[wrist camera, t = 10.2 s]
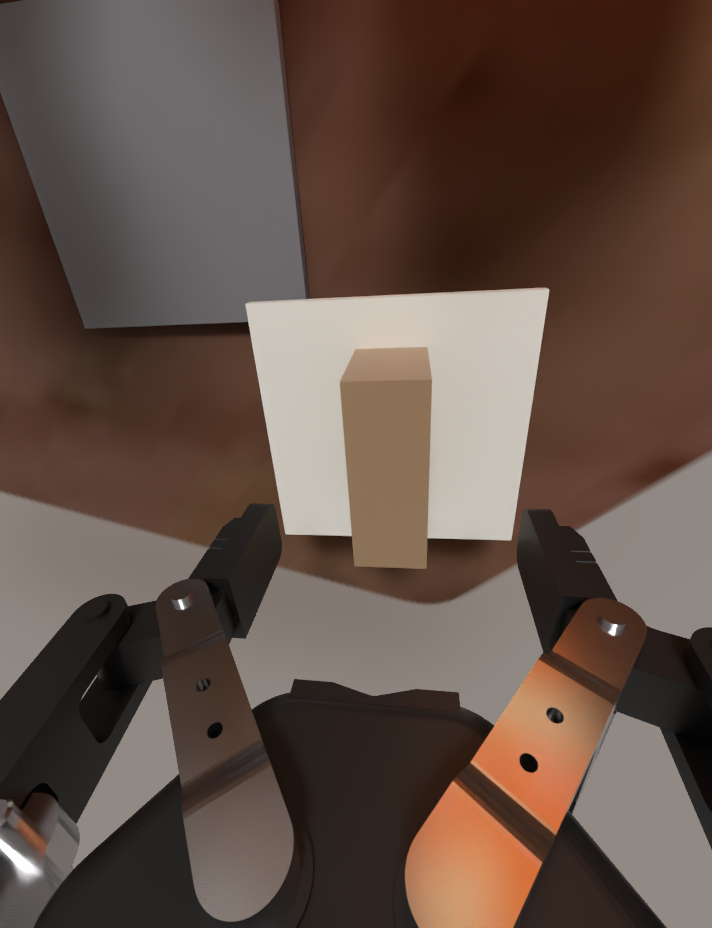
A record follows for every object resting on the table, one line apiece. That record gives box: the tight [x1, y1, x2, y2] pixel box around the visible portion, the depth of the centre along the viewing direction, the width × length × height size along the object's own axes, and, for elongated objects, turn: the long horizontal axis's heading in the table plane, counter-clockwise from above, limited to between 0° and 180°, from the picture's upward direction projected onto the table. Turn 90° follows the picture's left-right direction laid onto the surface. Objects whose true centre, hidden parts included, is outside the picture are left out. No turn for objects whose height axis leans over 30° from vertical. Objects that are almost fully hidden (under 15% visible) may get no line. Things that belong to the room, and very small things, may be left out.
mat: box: [0, 0, 310, 329], centre depth 20 cm, size 13×13×1 cm
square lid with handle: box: [245, 288, 549, 569], centre depth 18 cm, size 12×12×5 cm
